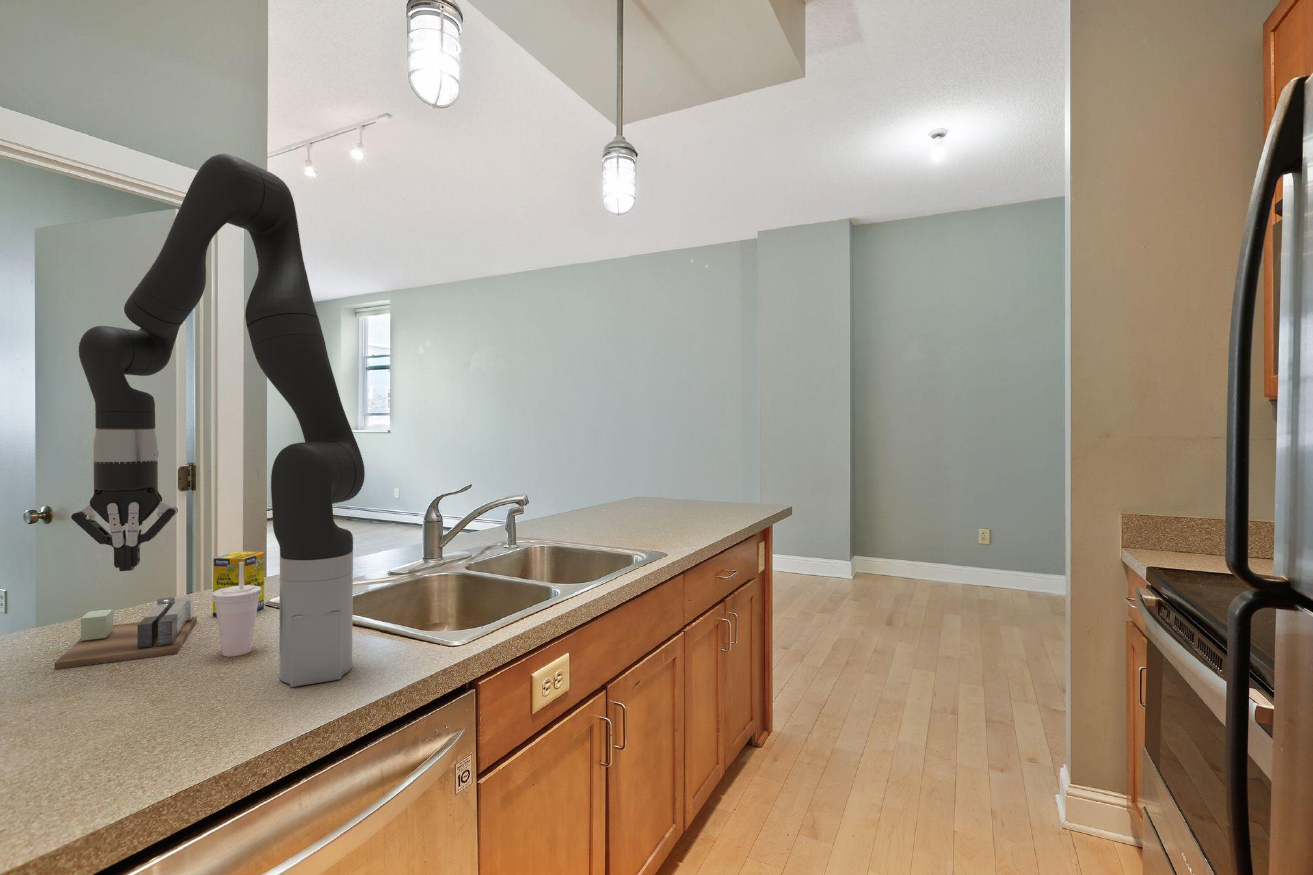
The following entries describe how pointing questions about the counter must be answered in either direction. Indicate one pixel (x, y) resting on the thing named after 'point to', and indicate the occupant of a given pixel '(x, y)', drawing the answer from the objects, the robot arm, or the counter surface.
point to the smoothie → (236, 615)
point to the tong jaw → (151, 626)
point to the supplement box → (229, 572)
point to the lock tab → (96, 624)
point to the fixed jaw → (174, 618)
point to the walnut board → (119, 647)
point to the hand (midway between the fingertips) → (127, 569)
